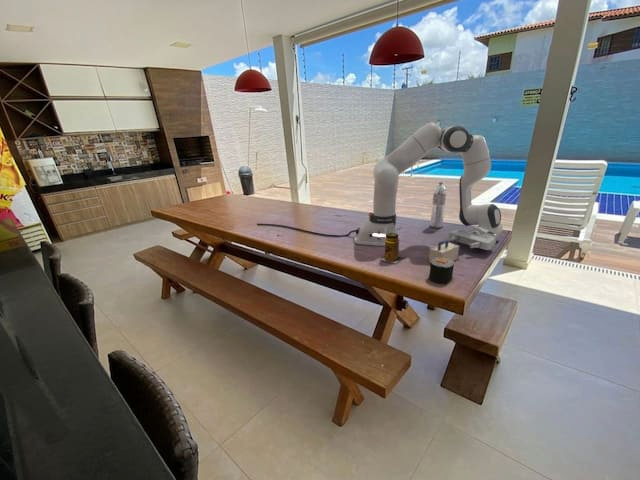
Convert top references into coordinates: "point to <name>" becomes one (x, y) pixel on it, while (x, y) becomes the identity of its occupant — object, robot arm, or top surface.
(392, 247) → the condiment
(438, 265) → the sushi
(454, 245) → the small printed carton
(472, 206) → the robot arm
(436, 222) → the water bottle
